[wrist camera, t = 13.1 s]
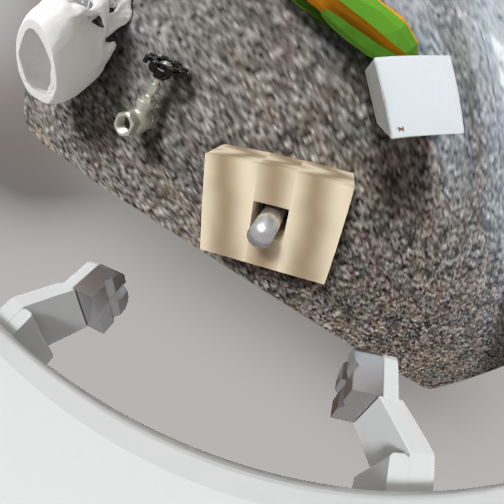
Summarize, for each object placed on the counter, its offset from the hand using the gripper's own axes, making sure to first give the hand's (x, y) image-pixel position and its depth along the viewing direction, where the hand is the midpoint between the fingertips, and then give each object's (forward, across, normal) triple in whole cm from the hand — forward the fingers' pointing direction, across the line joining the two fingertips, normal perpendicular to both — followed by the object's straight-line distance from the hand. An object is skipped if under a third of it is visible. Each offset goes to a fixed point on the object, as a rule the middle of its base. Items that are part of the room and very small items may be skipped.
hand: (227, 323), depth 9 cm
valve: (+32, +24, -3) cm, 40 cm away
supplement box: (+32, -8, -9) cm, 35 cm away
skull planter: (+32, +37, -14) cm, 51 cm away
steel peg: (+32, +4, +10) cm, 34 cm away
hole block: (+32, +4, +10) cm, 34 cm away
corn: (+32, 0, -18) cm, 37 cm away
